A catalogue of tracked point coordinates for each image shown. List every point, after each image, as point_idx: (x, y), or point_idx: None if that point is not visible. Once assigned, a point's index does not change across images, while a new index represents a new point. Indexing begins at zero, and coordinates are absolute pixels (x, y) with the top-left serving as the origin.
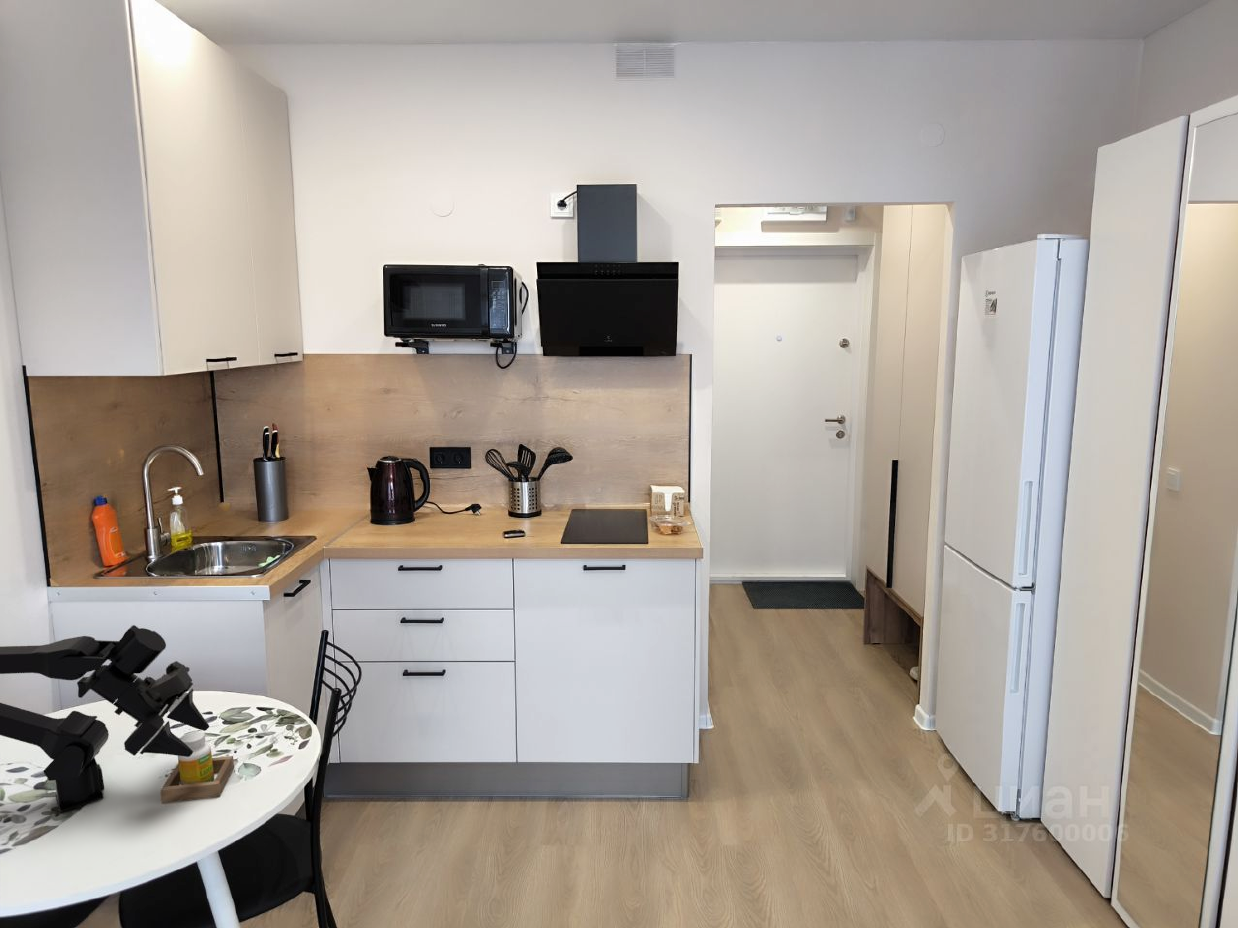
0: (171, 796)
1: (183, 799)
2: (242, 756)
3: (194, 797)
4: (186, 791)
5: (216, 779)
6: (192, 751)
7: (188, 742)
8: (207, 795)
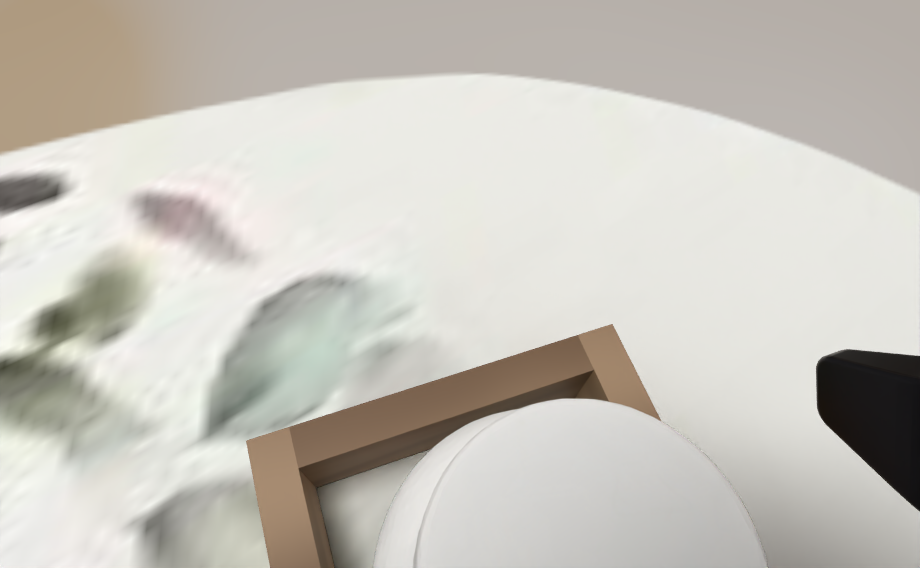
0: None
1: None
2: (111, 500)
3: None
4: None
5: (568, 367)
6: (836, 355)
7: (746, 515)
8: None
